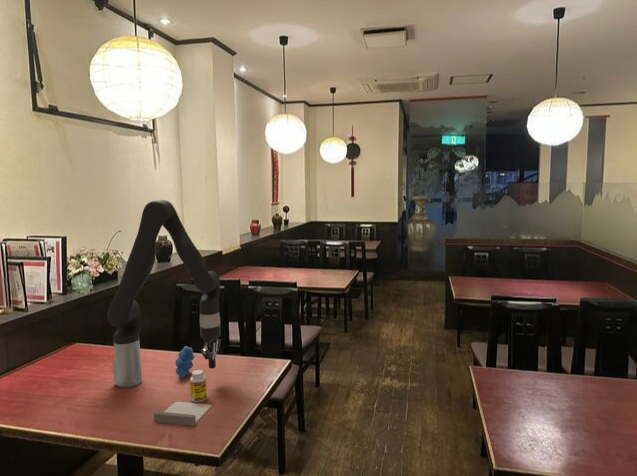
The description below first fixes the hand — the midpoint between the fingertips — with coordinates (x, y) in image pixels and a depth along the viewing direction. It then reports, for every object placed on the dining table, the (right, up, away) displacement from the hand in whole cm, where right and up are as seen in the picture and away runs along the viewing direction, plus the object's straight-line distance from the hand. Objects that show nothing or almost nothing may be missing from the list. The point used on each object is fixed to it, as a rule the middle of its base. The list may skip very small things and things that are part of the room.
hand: (212, 367), depth 173 cm
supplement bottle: (-2, -9, -11) cm, 14 cm away
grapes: (-14, -6, +10) cm, 19 cm away
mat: (-4, -9, -20) cm, 23 cm away
